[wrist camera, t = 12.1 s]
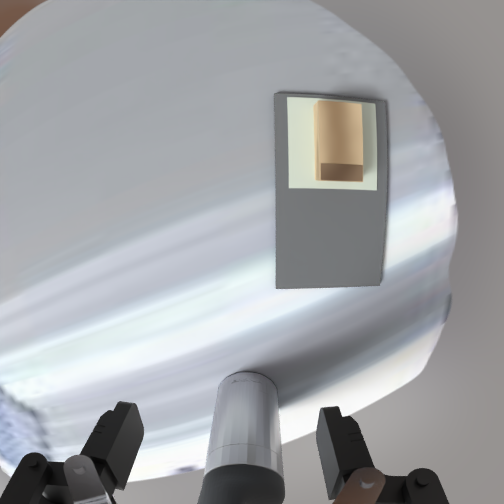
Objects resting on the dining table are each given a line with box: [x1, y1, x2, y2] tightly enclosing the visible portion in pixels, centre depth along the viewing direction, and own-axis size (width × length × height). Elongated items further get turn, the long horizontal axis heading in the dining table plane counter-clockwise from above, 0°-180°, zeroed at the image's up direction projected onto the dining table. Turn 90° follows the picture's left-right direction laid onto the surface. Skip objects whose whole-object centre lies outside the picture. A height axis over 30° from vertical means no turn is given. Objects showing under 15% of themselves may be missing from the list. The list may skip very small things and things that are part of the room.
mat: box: [274, 93, 387, 289], centre depth 35 cm, size 24×14×1 cm, turn 1°
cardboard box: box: [313, 100, 363, 182], centre depth 32 cm, size 5×9×3 cm, turn 1°
